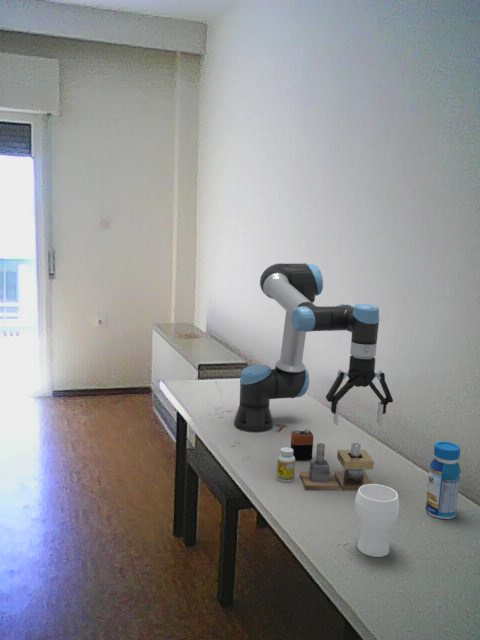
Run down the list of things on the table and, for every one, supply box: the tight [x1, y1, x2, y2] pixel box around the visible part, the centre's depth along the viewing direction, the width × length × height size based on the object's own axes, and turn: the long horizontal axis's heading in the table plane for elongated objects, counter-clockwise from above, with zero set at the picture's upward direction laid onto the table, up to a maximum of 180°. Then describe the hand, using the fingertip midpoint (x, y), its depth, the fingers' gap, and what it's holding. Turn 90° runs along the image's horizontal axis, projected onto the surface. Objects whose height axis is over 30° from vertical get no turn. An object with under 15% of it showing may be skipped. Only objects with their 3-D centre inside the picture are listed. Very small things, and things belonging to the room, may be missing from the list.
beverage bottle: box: [425, 441, 462, 520], centre depth 166 cm, size 8×8×20 cm
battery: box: [290, 428, 314, 462], centre depth 201 cm, size 4×7×10 cm, turn 97°
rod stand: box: [299, 442, 340, 491], centre depth 182 cm, size 10×10×12 cm
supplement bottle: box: [276, 446, 296, 483], centre depth 185 cm, size 5×5×10 cm
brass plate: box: [336, 449, 375, 470], centre depth 183 cm, size 9×9×2 cm
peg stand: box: [333, 442, 374, 491], centre depth 183 cm, size 10×10×12 cm
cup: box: [354, 483, 400, 558], centre depth 146 cm, size 11×11×15 cm
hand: (357, 423), depth 181 cm, fingers open, 13 cm apart
